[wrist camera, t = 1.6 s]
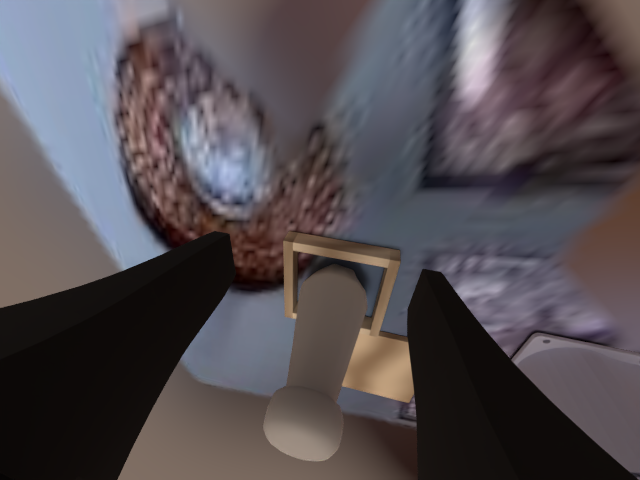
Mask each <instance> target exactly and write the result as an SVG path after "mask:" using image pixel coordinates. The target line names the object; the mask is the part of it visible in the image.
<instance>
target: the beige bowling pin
mask: <svg viewBox="0 0 640 480" xmlns="http://www.w3.org/2000/svg"><path fill="white" fill-rule="evenodd" d="M366 311H367V299H366V291H365V290H364V288H363V287H362V285H361V284H360V282H359V280H358V279H357V277H356V275H355V272H354V270H352V269H349V268H346V267H343V266H340V265H337V264H335V263H333V264H331V265H329V266H327V267H324V268H322V269H320V270H318V271H316V272H315V273H314V274H313V275H311V276H310V277H309V278H307V279H306V280H305V281H304V282H303V284H302V287H301V290H300V294H299V300H298V308H297V316H296V323H295V331H294V339H293V346H292V353H291V359H290V365H289V372H288V378H287V385H286V386H285V387H283V388H280V389H278V390H276V392H275V393H274V394H273V396H272V398H271V401H270V403H269V406H268V408H267V412H266V416H265V420H264V426H263V429H264V432H265V435H266V437H267V439H268V440H269V442H270V444H272V445H273V446H275V447H276V448H277V449H279V450H280V451H282V452H283V453H285V454H288V455H290V456H292V457H295V458H298V459H301V460H308V461H323V460H327V459H328V458H329V457H331V456H332V455H333V454H334V453H335V452H336V451H337V450H338V448H339V445H340V441H341V438H342V431H343V416H342V412H341V408H340V406H339V405H338V404H337V403H336V402H337V399H338V396H339V393H340V390H341V387H342V384H343V381H344V377H345V374H346V371H347V368H348V365H349V362H350V359H351V356H352V353H353V350H354V347H355V344H356V341H357V338H358V335H359V332H360V329H361V326H362V323H363V320H364V317H365V314H366Z"/></svg>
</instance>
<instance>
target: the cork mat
mask: <svg viewBox="0 0 640 480" xmlns="http://www.w3.org/2000/svg"><path fill="white" fill-rule="evenodd" d="M342 386H345V387H348V388H352V389H356V390H360V391H364V392H368V393H372V394H376V395H380V396H384V397H388V398H391V399H395V400H399V401H403V402H407V403H409V402H410V400H411V398H412V396H413V394H414V387H413V379H412V371H411V363H410V354H409V346H408V337H405V336H400V335H396V334H391V333H387V332H382V331H379V335H378V337H374V336H370V335H365V334H361V333H359V335H358V338H357V341H356V344H355V347H354V350H353V353H352V356H351V359H350V362H349V365H348V368H347V371H346V374H345V377H344V381H343V384H342Z"/></svg>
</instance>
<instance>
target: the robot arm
mask: <svg viewBox="0 0 640 480" xmlns="http://www.w3.org/2000/svg"><path fill="white" fill-rule="evenodd" d="M235 275H236V272H235V266H234V260H233V253H232V247H231V241H230V235H229V234H227V233H222V232H216V231H214V232H211V233H209V234H206V235H204V236H202V237H199V238H197V239H195V240H193V241H190V242H188V243H186V244H184V245H182V246H179V247H177V248H175V249H173V250H171V251H169V252H166V253H164V254H162V255H160V256H157V257H155V258H153V259H150V260H148V261H146V262H143V263H141V264H138V265H136V266H134V267H131V268H129V269H126V270H124V271H121V272H119V273H116V274H114V275H111V276H108V277H105V278H102V279H99V280H96V281H94V282H91V283H88V284H85V285H82V286H79V287H75V288H72V289H69V290H65V291H62V292H58V293H55V294H52V295H48V296H45V297H41V298H38V299H34V300H31V301H27V302H23V303H19V304H15V305H11V306H7V307H4V308H0V480H117V479H118V477H119V475H120V473H121V470H122V468H123V466H124V464H125V462H126V460H127V458H128V456H129V453H130V451H131V449H132V447H133V445H134V443H135V441H136V439H137V437H138V435H139V433H140V431H141V429H142V427H143V425H144V424H145V422H146V420H147V418H148V416H149V414H150V412H151V410H152V408H153V406H154V404H155V403H156V401H157V398H158V397H159V395H160V393H161V391H162V390H163V388H164V386H165V384H166V382H167V381H168V379H169V377H170V375H171V374H172V372H173V370H174V369H175V367H176V365H177V364H178V362H179V360H180V358H181V357H182V355H183V354H184V352H185V351H186V349H187V348H188V346H189V345H190V343H191V342H192V340H193V339H194V338H195V336H196V335H197V334H198V332H199V331H200V329H201V328H202V327H203V325H204V324H205V322H206V321H207V320H208V318H209V317H210V316H211V314H212V313H213V311H214V310H215V309H216V307H217V306H218V304H219V303H220V301H221V300H222V299H223V297H224V296H225V294H226V292H227V290H228V288H229V287H230V285H231V283H232V281H233V279H234V277H235ZM407 336H408V346H409V354H410V363H411V371H412V379H413V387H414V395H415V405H416V417H417V452H418V480H640V353H637V352H632V351H627V350H622V349H617V348H612V347H607V346H603V345H598V344H593V343H588V342H583V341H578V340H573V339H568V338H563V337H558V336H553V335H548V334H544V333H535V334H533V335H532V336H531V337H530V338H529V339H528V340H527V342H526V343H525V344H524V345H523V346H522V348H521V349H520V350H519V351H518V352H517V353H516V355H515V356H514V357H513V358H512V359H510V358H509V357H508V356H507V355H506V354H505V352H504V351H503V350H502V349H501V348H500V347H499V346H498V344H497V343H496V342H495V341H494V340H493V339H492V338H491V336H490V335H489V334H488V333H487V332H486V330H485V329H484V328H483V327H482V325H481V324H480V323H479V322H478V320H477V319H476V318H475V317H474V315H473V314H472V313H471V312H470V310H469V309H468V308H467V306H466V305H465V304H464V302H463V301H462V300H461V298H460V297H459V296H458V294H457V293H456V292H455V290H454V289H453V287H452V286H451V285H450V283H449V282H448V281H447V279H446V278H445V276H444V275H443V274H442V273H441V272H438V271H432V270H427V269H422V272H421V275H420V277H419V280H418V283H417V285H416V288H415V291H414V293H413V296H412V299H411V301H410V304H409V307H408V317H407Z"/></svg>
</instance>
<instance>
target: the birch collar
mask: <svg viewBox="0 0 640 480" xmlns="http://www.w3.org/2000/svg"><path fill="white" fill-rule="evenodd" d="M283 247H284V295H285V317H289V318H294V319H296V316H297V308H298V302H297V278H298V251H299V252H304V253H309V254H315V255H320V256H326V257H331V258H336V259H342V260H347V261H353V262H358V263H364V264H369V265H374V266H380V267H385V268H384V272H383V276H382V280H381V284H380V287H379V291H378V295H377V299H376V302H375V306H374V310H373V314H372V318H371V317H366V316H365V317H364V320H363V323H362V326H361V329H360V332H359V333H361V334H365V335H370V336H374V337H378V335H379V331H380V328H381V325H382V321H383V318H384V315H385V312H386V308H387V305H388V302H389V299H390V295H391V292H392V289H393V285H394V282H395V279H396V276H397V272H398V269H399V266H400V262H401V259H400V250H395V249H389V248H384V247H378V246H372V245H366V244H361V243H355V242H349V241H343V240H338V239H332V238H326V237H320V236H315V235H309V234H303V233H297V232H292V231H289V232H288V234H287V236H286V237H285V239H284V240H283Z"/></svg>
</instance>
